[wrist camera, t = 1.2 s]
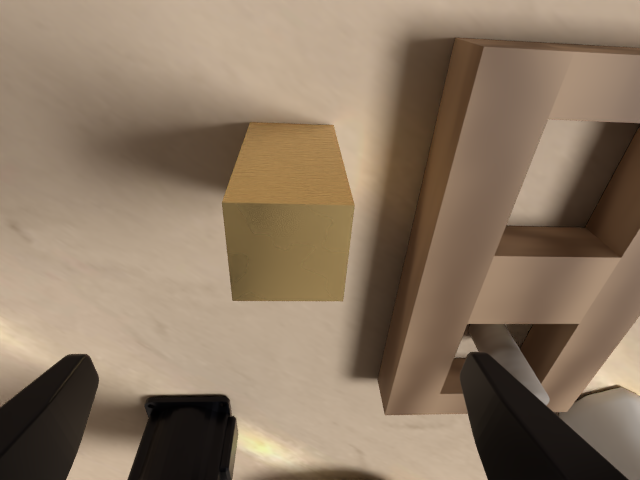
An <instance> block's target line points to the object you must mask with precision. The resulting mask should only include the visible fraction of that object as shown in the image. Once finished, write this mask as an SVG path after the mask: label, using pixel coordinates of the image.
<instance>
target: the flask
mask: <svg viewBox="0 0 640 480" xmlns="http://www.w3.org/2000/svg"><path fill="white" fill-rule="evenodd" d="M559 417H560V418H561V419H562V420H563V421H564V422H565V423H566V424H568V425H569V426H570V427H571V428H572V429H573V430H574V431H575V432H576V433H578V434H579V435H580V436H581V437H582V438H583V439H584V440H585V441H587V442H588V443H589V444H590V445H591V446H592V447H593V448H594V449H595V450H597V451H598V452H599V453H600V454H601V455H602V456H603V457H604V458H606V459H607V460H608V461H609V462H610V463H611V464H612V465H613V466H614V467H616V468H617V469H618V470H619V471H620V472H621V473H622V474H623V475H624V476H626V477H627V478H628V479H629V480H640V396H639V395H637V394H635V393H633V392H631V391H629V390H627V389H625V388H622V387H620V388H616V389H612V390H608V391H603V392H599V393H595V394H591V395H587V396H585V397H583V398H582V399H580V400H578V401H577V402H575V403H574V404H573V405H572V406H571V408H570V409H569V410H568V412H559Z"/></svg>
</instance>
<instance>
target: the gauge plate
mask: <svg viewBox="0 0 640 480" xmlns="http://www.w3.org/2000/svg"><path fill="white" fill-rule="evenodd" d="M548 119H551V120H576V121H600V122H625V123H640V48H630V47H613V46H595V45H577V44H559V43H541V42H524V41H506V40H488V39H470V38H455V41H454V45H453V50H452V54H451V58H450V63H449V67H448V72H447V76H446V80H445V85H444V89H443V94H442V98H441V102H440V107H439V111H438V116H437V120H436V124H435V129H434V133H433V138H432V142H431V146H430V151H429V155H428V160H427V164H426V168H425V173H424V177H423V182H422V186H421V190H420V195H419V199H418V204H417V208H416V212H415V217H414V221H413V226H412V230H411V234H410V239H409V243H408V248H407V252H406V256H405V261H404V265H403V270H402V274H401V278H400V283H399V287H398V292H397V296H396V300H395V305H394V309H393V314H392V318H391V322H390V327H389V331H388V336H387V340H386V345H385V349H384V353H383V358H382V362H381V367H380V371H379V375H378V384H379V389H380V393H381V398H382V403H383V408H384V413H385V415H421V414H468V412H467V408H466V404H465V400H464V396H463V391H462V387H461V383H460V372H461V369H462V367H463V364H464V362H465V360H466V358H454V357H455V354H456V352H457V349H458V347H459V344H460V341H461V339H462V336H463V334H464V331H465V329H466V326H467V324H470V326H469V333H470V335H471V337H472V339H473V341H474V343H475V345H476V347H477V349H478V351H479V352H486V353H488V354H489V355H491V356H492V357H493V358H494V359H495V360H496V361H497V362H498V363H499V364H501V365H502V366H503V367H504V368H505V369H506V370H507V371H508V372H510V373H511V374H512V375H513V376H514V377H515V378H516V379H517V380H518V381H520V382H521V383H522V384H523V385H524V386H525V387H526V388H527V389H528V390H530V391H531V392H532V393H533V394H534V395H535V396H536V397H537V398H539V399H540V400H541V401H542V402H543V403H544V404H545V405H546V406H547V407H549V408H550V409H551V410H552V411H553V412H568V410H569V409H570V408H571V406H572V405H573V404H574V402H575V401H576V400H577V398H578V397H579V396H580V394H581V393H582V392H583V390H584V389H585V388H586V386H587V385H588V384H589V382H590V381H591V380H592V378H593V377H594V376H595V374H596V373H597V372H598V370H599V369H600V368H601V366H602V365H603V364H604V362H605V361H606V360H607V358H608V357H609V356H610V354H611V353H612V352H613V350H614V349H615V348H616V346H617V345H618V344H619V342H620V341H621V340H622V339H623V337H624V336H625V335H626V333H627V332H628V331H629V329H630V328H631V327H632V325H633V324H634V323H635V321H636V320H637V319H638V317H639V316H640V126H639V128H638V130H637V132H636V134H635V135H634V137H633V139H632V141H631V143H630V145H629V147H628V148H627V150H626V152H625V154H624V156H623V158H622V160H621V162H620V163H619V165H618V167H617V169H616V171H615V173H614V175H613V176H612V178H611V180H610V182H609V184H608V186H607V188H606V190H605V191H604V193H603V195H602V197H601V199H600V201H599V203H598V204H597V206H596V208H595V210H594V212H593V214H592V216H591V217H590V219H589V221H588V223H587V225H586V227H585V228H584V227H531V226H506V225H507V222H508V220H509V217H510V215H511V212H512V209H513V207H514V204H515V202H516V199H517V197H518V194H519V192H520V189H521V187H522V184H523V182H524V179H525V176H526V174H527V171H528V169H529V166H530V164H531V161H532V159H533V156H534V154H535V151H536V149H537V146H538V143H539V141H540V138H541V136H542V133H543V131H544V128H545V126H546V123H547V121H548ZM505 324H533V326H532V327H531V329H530V331H529V333H528V335H527V337H526V339H525V341H524V342H523V344H522V346H521V348H520V349H519V347H518V346H517V344H516V342H515V341H514V339H513V337H512V336H511V334H510V333H509V331H508V329H507V328H506V326H505Z"/></svg>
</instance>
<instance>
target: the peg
mask: <svg viewBox="0 0 640 480" xmlns="http://www.w3.org/2000/svg"><path fill="white" fill-rule="evenodd" d="M222 207H223V217H224V226H225V235H226V245H227V254H228V263H229V272H230V282H231V291H232V300H233V301H343V297H344V289H345V281H346V272H347V264H348V256H349V247H350V239H351V231H352V222H353V214H354V202H353V198H352V194H351V190H350V186H349V182H348V179H347V175H346V171H345V167H344V163H343V160H342V156H341V152H340V148H339V144H338V141H337V137H336V133H335V129H334V125H311V124H285V123H258V122H250V124H249V127H248V130H247V133H246V135H245V138H244V141H243V144H242V147H241V150H240V152H239V155H238V158H237V161H236V164H235V167H234V170H233V172H232V175H231V178H230V181H229V184H228V187H227V190H226V192H225V195H224V198H223V201H222Z"/></svg>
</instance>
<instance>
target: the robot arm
mask: <svg viewBox="0 0 640 480" xmlns="http://www.w3.org/2000/svg"><path fill="white" fill-rule="evenodd" d="M98 383H99V377H98V374H97V371H96V369H95V367H94V365H93V362H92V360H91V358H90V356H88V355H87V354H70V355H67V356H65V357H64V358H62V359H61V360H60V361H58V362H57V363H56V364H55V365H53V366H52V367H51V368H50V369H48V370H47V371H46V372H45V373H43V374H42V375H41V376H39V377H38V378H37V379H36V380H34V381H33V382H32V383H31V384H29V385H28V386H27V387H25V388H24V389H23V390H22V391H20V392H19V393H18V394H17V395H15V396H14V397H13V398H12V399H10V400H9V401H8V402H6V403H5V404H4V405H3V406H1V407H0V480H66V478H67V476H68V474H69V471H70V469H71V467H72V464H73V462H74V459H75V457H76V454H77V452H78V449H79V446H80V443H81V440H82V436H83V433H84V430H85V427H86V423H87V420H88V417H89V414H90V410H91V407H92V404H93V401H94V398H95V394H96V391H97V388H98ZM460 383H461V387H462V391H463V396H464V400H465V404H466V408H467V412H468V416H469V420H470V424H471V428H472V432H473V436H474V440H475V444H476V447H477V450H478V453H479V456H480V459H481V461H482V464H483V467H484V470H485V473H486V476H487V478H488V480H629V479H628V478H627V477H626V476H624V475H623V474H622V473H621V472H620V471H619V470H618V469H617V468H616V467H614V466H613V465H612V464H611V463H610V462H609V461H608V460H607V459H606V458H604V457H603V456H602V455H601V454H600V453H599V452H598V451H597V450H595V449H594V448H593V447H592V446H591V445H590V444H589V443H588V442H587V441H585V440H584V439H583V438H582V437H581V436H580V435H579V434H578V433H576V432H575V431H574V430H573V429H572V428H571V427H570V426H569V425H568V424H566V423H565V422H564V421H563V420H562V419H561V418H560V417H559V416H558V415H556V414H555V413H554V412H553V411H552V410H551V409H550V408H549V407H547V406H546V405H545V404H544V403H543V402H542V401H541V400H540V399H539V398H537V397H536V396H535V395H534V394H533V393H532V392H531V391H530V390H528V389H527V388H526V387H525V386H524V385H523V384H522V383H521V382H520V381H518V380H517V379H516V378H515V377H514V376H513V375H512V374H511V373H510V372H508V371H507V370H506V369H505V368H504V367H503V366H502V365H501V364H499V363H498V362H497V361H496V360H495V359H494V358H493V357H492V356H491V355H489V354H488V353H486V352H470V353H469V354H468V355H467V357H466V360H465V362H464V364H463V367H462V369H461V372H460ZM145 409H146V412H147V414H148V417H149V419H148V422H147V425H146V428H145V431H144V433H143V436H142V439H141V442H140V445H139V448H138V451H137V454H136V457H135V460H134V462H133V465H132V468H131V471H130V474H129V477H128V480H232V477H233V469H234V462H235V454H236V447H237V439H238V429H237V421H236V418H235V417H234V416H232V413H231V406H230V400H229V399H228V398H227V397H172V398H148V399H147V400H146V402H145Z"/></svg>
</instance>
